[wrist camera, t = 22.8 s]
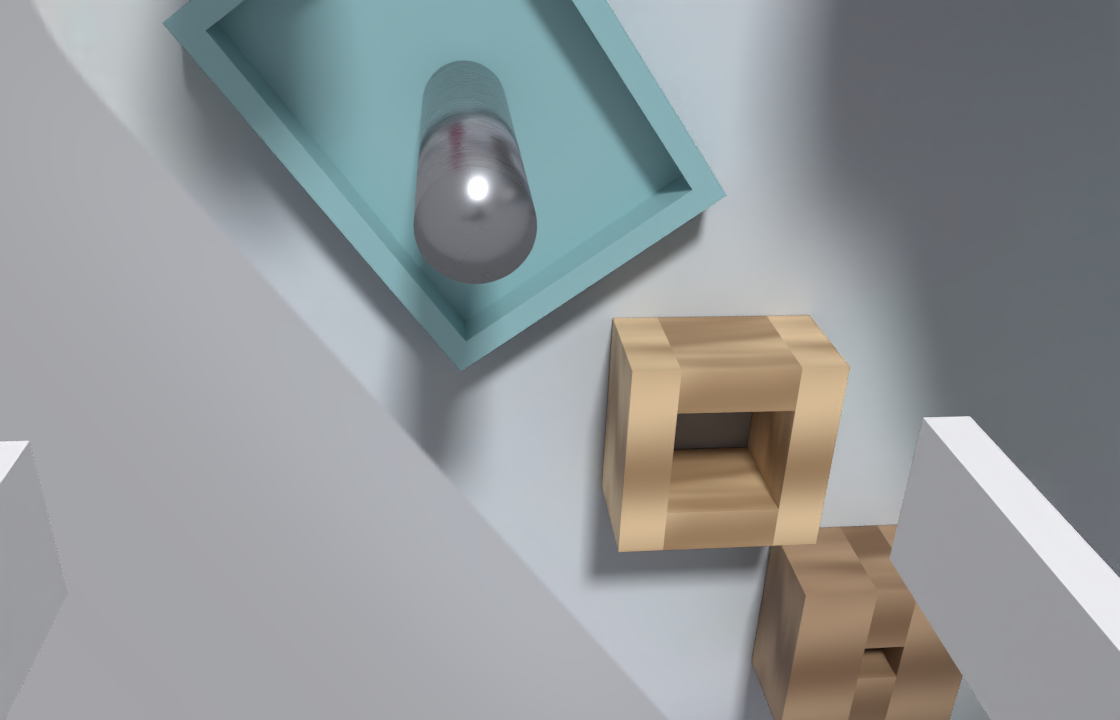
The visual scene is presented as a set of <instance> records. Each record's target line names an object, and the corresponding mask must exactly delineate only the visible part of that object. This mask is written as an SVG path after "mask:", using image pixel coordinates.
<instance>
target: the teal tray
mask: <svg viewBox="0 0 1120 720" xmlns="http://www.w3.org/2000/svg"><path fill="white" fill-rule="evenodd" d="M163 24H164V26H165V27H166V28H167V29H168V30H169V31H170V33H171V34H172V35H173V36H174V37H175V38H176V40H177V41H178V42H179V43H180V44H181V45H182V47H183V48H184V49H185V50H186V51H187V52H188V54H189V55H190V56H191V57H192V58H193V59H194V61H195V62H196V63H197V64H198V65H199V66H200V68H201V69H202V70H203V71H204V72H205V73H206V75H207V76H208V77H209V78H210V79H211V80H212V82H213V83H214V84H215V85H216V86H217V87H218V89H219V90H220V91H221V92H222V93H223V94H224V96H225V97H226V98H227V99H228V100H229V101H230V103H231V104H232V105H233V106H234V107H235V108H236V110H237V111H238V112H239V113H240V114H241V115H242V117H243V118H244V119H245V120H246V121H247V123H248V124H249V125H250V126H251V127H252V128H253V130H254V131H255V132H256V133H257V134H258V135H259V137H260V138H261V139H262V140H263V141H264V142H265V144H266V145H267V146H268V147H269V148H270V149H271V151H272V152H273V153H274V154H275V155H276V156H277V158H278V159H279V160H280V161H281V162H282V163H283V165H284V166H285V167H286V168H287V169H288V170H289V172H290V173H291V174H292V175H293V176H294V177H295V179H296V180H297V181H298V182H299V183H300V184H301V186H302V187H303V188H304V189H305V190H306V191H307V193H308V194H309V195H310V196H311V197H312V198H313V200H314V201H315V202H316V203H317V204H318V205H319V207H320V208H321V209H322V210H323V211H324V212H325V214H326V215H327V216H328V217H329V218H330V220H331V221H332V222H333V223H334V224H335V225H336V227H337V228H338V229H339V230H340V231H341V232H342V234H343V235H344V236H345V237H346V238H347V239H348V241H349V242H350V243H351V244H352V245H353V246H354V248H355V249H356V250H357V251H358V252H359V253H360V255H361V256H362V257H363V258H364V259H365V260H366V262H367V263H368V264H369V265H370V266H371V267H372V269H373V270H374V271H375V272H376V273H377V274H378V276H379V277H380V278H381V279H382V280H383V281H384V283H385V284H386V285H387V286H388V287H389V288H390V290H391V291H392V292H393V293H394V294H395V295H396V297H397V298H398V299H399V300H400V301H401V302H402V304H403V305H404V306H405V307H406V308H407V309H408V311H409V312H410V313H411V314H412V315H413V317H414V318H415V319H416V320H417V321H418V322H419V324H420V325H421V326H422V327H423V328H424V329H425V331H426V332H427V333H428V334H429V335H430V336H431V338H432V339H433V340H434V341H435V342H436V343H437V345H438V346H439V347H440V348H441V349H442V350H443V352H444V353H445V354H446V355H447V356H448V357H449V359H450V360H451V361H452V362H453V363H454V364H455V366H456V367H457V368H458V369H459V370H460V371H463V370H464V369H466V368H467V367H469V366H470V365H472V364H473V363H475V362H476V361H478V360H479V359H481V358H482V357H484V356H485V355H487V354H488V353H490V352H491V351H493V350H494V349H496V348H497V347H499V346H500V345H502V344H503V343H505V342H506V341H508V340H509V339H511V338H512V337H514V336H515V335H517V334H518V333H520V332H521V331H523V330H524V329H526V328H527V327H529V326H530V325H532V324H533V323H535V322H536V321H538V320H539V319H541V318H543V317H544V316H546V315H547V314H549V313H550V312H552V311H553V310H555V309H556V308H558V307H559V306H561V305H562V304H564V303H565V302H567V301H568V300H570V299H571V298H573V297H574V296H576V295H577V294H579V293H580V292H582V291H583V290H585V289H586V288H588V287H589V286H591V285H592V284H594V283H595V282H597V281H598V280H600V279H601V278H603V277H604V276H606V275H607V274H609V273H610V272H612V271H613V270H615V269H616V268H618V267H619V266H621V265H622V264H624V263H625V262H627V261H629V260H630V259H632V258H633V257H635V256H636V255H638V254H639V253H641V252H642V251H644V250H645V249H647V248H648V247H650V246H651V245H653V244H654V243H656V242H657V241H659V240H660V239H662V238H663V237H665V236H666V235H668V234H669V233H671V232H672V231H674V230H675V229H677V228H678V227H680V226H681V225H683V224H684V223H686V222H687V221H689V220H690V219H692V218H693V217H695V216H696V215H698V214H699V213H701V212H702V211H704V210H705V209H707V208H708V207H710V206H712V205H713V204H715V203H716V202H718V201H719V200H721V199H722V198H724V197H725V196H727V195H726V193H725V192H724V190H723V189H722V187H721V185H720V184H719V182H718V180H717V179H716V177H715V176H714V174H713V172H712V171H711V169H710V168H709V166H708V164H707V163H706V161H705V159H704V158H703V156H702V155H701V153H700V151H699V150H698V148H697V146H696V145H695V143H694V142H693V140H692V138H691V137H690V135H689V134H688V132H687V130H686V129H685V127H684V125H683V124H682V122H681V121H680V119H679V117H678V116H677V114H676V112H675V111H674V109H673V108H672V106H671V104H670V103H669V101H668V100H667V98H666V96H665V95H664V93H663V91H662V90H661V88H660V87H659V85H658V83H657V82H656V80H655V78H654V77H653V75H652V74H651V72H650V70H649V69H648V67H647V66H646V64H645V62H644V61H643V59H642V57H641V56H640V54H639V53H638V51H637V49H636V48H635V46H634V44H633V43H632V41H631V40H630V38H629V36H628V35H627V33H626V32H625V30H624V28H623V27H622V25H621V23H620V22H619V20H618V19H617V17H616V15H615V14H614V12H613V10H612V9H611V7H610V6H609V4H608V2H607V1H606V0H191V1H190V2H188V3H187V4H186V5H185V6H183V7H182V8H181V9H180V10H178V11H177V12H176V13H175V14H173V15H172V16H171V17H170V18H168V19H167V20H166V21H165V22H163ZM462 60H466V61H473V62H477V63H479V64H482V65H483V66H485V67H487V68H488V69H490V70H491V71H492V72H493V73H494V74H495V75H496V76H497V78H498V79H499V81H500V82H501V84H502V86H503V89H504V92H505V95H506V99H507V103H508V107H509V111H510V115H511V119H512V123H513V126H514V130H515V134H516V138H517V142H518V146H519V150H520V154H521V157H522V161H523V165H524V169H525V173H526V177H527V181H528V185H529V189H530V192H531V196H532V200H533V204H534V208H535V212H536V217H537V234H536V239H535V243H534V245H533V248H532V250H531V252H530V254H529V255H528V257H527V258H526V260H525V261H524V262H523V263H522V264H521V265H520V266H519V268H517V269H516V270H515V271H514V272H512V273H511V274H509V275H507V276H506V277H504V278H501V279H499V280H496V281H493V282H489V283H484V284H467V283H461V282H458V281H454V280H452V279H449V278H447V277H445V276H443V275H442V274H440V273H438V272H437V271H436V270H435V269H433V268H432V267H431V266H430V265H429V264H428V263H427V261H426V260H425V259H424V257H423V256H422V254H421V252H420V251H419V248H418V246H417V243H416V240H415V236H414V227H413V226H414V210H415V196H416V183H417V169H418V156H419V142H420V129H421V115H422V102H423V93H424V89H425V86H426V84H427V82H428V80H429V79H430V77H431V76H432V75H433V74H434V72H436V71H437V70H438V69H439V68H441V67H442V66H444V65H446V64H448V63H451V62H454V61H462Z"/></svg>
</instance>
